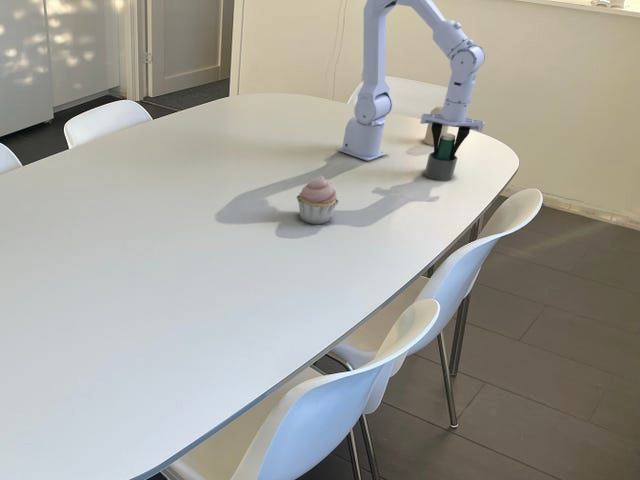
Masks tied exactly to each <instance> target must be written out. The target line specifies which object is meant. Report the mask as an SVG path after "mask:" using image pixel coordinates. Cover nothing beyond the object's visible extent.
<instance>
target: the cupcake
mask: <svg viewBox="0 0 640 480" xmlns="http://www.w3.org/2000/svg"><path fill="white" fill-rule="evenodd" d="M295 197H296V200H297V202H298V208H299V216H300V219H301V220H302V221H303V222H305V223H307V224H312V225H323V224H326V223H328V222H329V220H330V218H331V215H332V214H333V211H334V210H335V208H336V206H337V205H338V204H339V203H340V200H339V199H337V198H338V196H337V191H336V190H335V187H334V185H333V184H332V183H330V182H328V181H326V179H325V177H324V176H323V175H319V176H316V177H314V178H312V179H311V180H310V181H309V182H308V183H307V184H305V186H304V187H302V189H301V192H299V193H298V195H296V196H295Z"/></svg>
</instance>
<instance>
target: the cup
mask: <svg viewBox="0 0 640 480" xmlns="http://www.w3.org/2000/svg"><path fill="white" fill-rule="evenodd" d="M433 153H434V151H431V152H429V154H428V157H427V161H426V165H425V169H424V176H426V177H427V178H429V179H432V180H434V181H435V180H436V181H449V180H450V181H451V180H452V179H453V177H454V173H455V170H456V166H457V163H458V157H457V155H456V154H455V155H454V158H452V157H451V158H450V161H443V160H438V159H435V157H436V155H433Z"/></svg>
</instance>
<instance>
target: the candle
mask: <svg viewBox="0 0 640 480" xmlns="http://www.w3.org/2000/svg"><path fill="white" fill-rule="evenodd" d="M442 110H443V106H435V107H434V108H433V109H431V111H430V114H442ZM449 127H450V126H443V125H442V131H441V135H440V137H441V136H442V134H444V133H448V131H449ZM431 128H432V124H428V123H427V127H426V131H425V135H424V141H423V142H424V144H427V145H430V146H434V140H433V134H432V130H431ZM439 141H440V138H439ZM438 145H439V142H438Z"/></svg>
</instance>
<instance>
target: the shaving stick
mask: <svg viewBox="0 0 640 480" xmlns="http://www.w3.org/2000/svg"><path fill="white" fill-rule="evenodd" d="M455 141H456V135H455V134H453V133H449V132H447V133H444V134H442V136H441V137H440V141H439V145H438V149H437V154H436V157H435V159H438V160H443V161H450V158H451V154H452V151H453V147H454V144H455Z"/></svg>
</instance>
